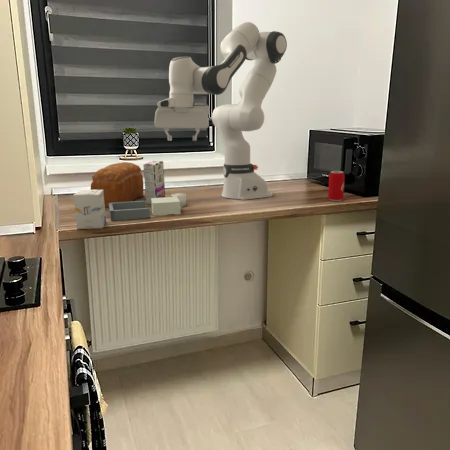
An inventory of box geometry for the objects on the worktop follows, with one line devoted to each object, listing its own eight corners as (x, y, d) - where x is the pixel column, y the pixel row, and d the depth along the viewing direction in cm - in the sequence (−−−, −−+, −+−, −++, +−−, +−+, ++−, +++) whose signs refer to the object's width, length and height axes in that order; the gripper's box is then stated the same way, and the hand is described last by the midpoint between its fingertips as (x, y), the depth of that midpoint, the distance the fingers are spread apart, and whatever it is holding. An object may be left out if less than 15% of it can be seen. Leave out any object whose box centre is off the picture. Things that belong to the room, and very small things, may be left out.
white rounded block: (184, 203, 185) (184, 192, 184) (187, 206, 179) (187, 195, 178) (170, 204, 183) (169, 193, 182) (172, 207, 178) (172, 196, 177)
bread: (89, 207, 179) (85, 168, 175) (117, 194, 204) (114, 159, 200) (121, 208, 177) (118, 168, 173) (146, 195, 201) (144, 160, 197)
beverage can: (345, 200, 188) (347, 171, 185) (338, 202, 183) (340, 173, 180) (332, 198, 192) (334, 170, 189) (325, 200, 188) (326, 171, 184)
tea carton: (177, 209, 176) (176, 196, 174) (180, 214, 167) (180, 201, 166) (151, 210, 173) (150, 198, 172) (153, 216, 165) (152, 203, 164)
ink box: (81, 222, 157) (78, 189, 153) (106, 221, 157) (103, 188, 154) (76, 229, 148) (72, 194, 145) (102, 228, 149) (99, 193, 146)
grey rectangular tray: (145, 209, 175) (145, 200, 174) (150, 217, 162) (149, 208, 161) (109, 211, 171) (108, 203, 170) (111, 220, 158) (110, 211, 157)
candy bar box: (154, 198, 194) (152, 160, 190) (165, 199, 193) (164, 160, 189) (145, 204, 184) (142, 164, 179) (156, 204, 183) (154, 164, 178)
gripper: (209, 103, 170) (210, 140, 173) (155, 102, 170) (156, 139, 173) (209, 102, 163) (209, 141, 167) (153, 102, 163) (154, 140, 167)
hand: (182, 140), depth 170 cm, fingers open, 8 cm apart
